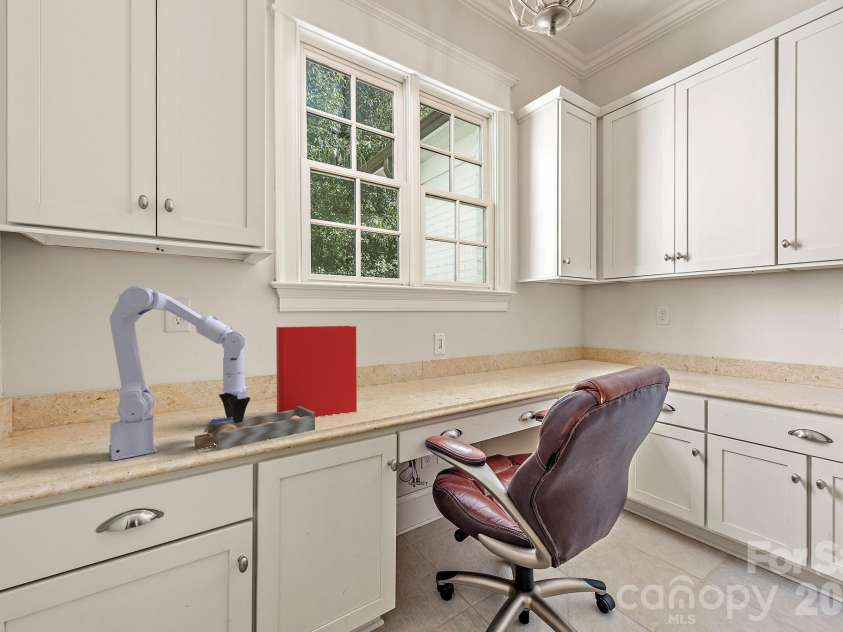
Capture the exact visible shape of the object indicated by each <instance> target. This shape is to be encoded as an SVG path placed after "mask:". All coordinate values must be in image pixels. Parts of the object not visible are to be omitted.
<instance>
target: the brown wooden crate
mask: <svg viewBox="0 0 843 632" xmlns="http://www.w3.org/2000/svg"><path fill="white" fill-rule="evenodd" d="M195 446H196V447H195ZM210 446H214V447H215V445H214V436H213V435H212V434H211V433H208V434H207V433H204V434H196V435H194V447H195V449H196V450H197V449H201V448H205V449H207V448H206V447H210ZM210 448H211V447H210ZM201 450H202V449H201Z"/></svg>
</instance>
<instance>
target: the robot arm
mask: <svg viewBox="0 0 843 632" xmlns="http://www.w3.org/2000/svg"><path fill="white" fill-rule="evenodd" d="M152 310H160V311H167V312H169V313H170V314H172V315H175V316H177V317H179V318H181V319H182V320H184V321H186V322H187V323H190V325H193V326H194V327H195V329H196V332H197V333H198V334H199V335H201V336H203V337H205V338H206V339H208V340H209V341H211V342H213V343H215V344H217V345H221V346H222V348H223V357H222V391H221V392H222V393H220V394H218V397H219V399H220V400H221V402H222V405H223V410H224V414H225V416H226V417H225V418H230V417H233V420H234V423H240V422H243V418H245V413H246V409H247V407H248V404H249V403H250V401H251V397H250V396H246V395H247V392H246V390H249V389H250V386H249V385H246V377H245V376H246V359H245V350H244V349H245V348H244V347H245V345H246V339H245V336H244V335H243V334H242V333H241V332H240V331H239V330H234V328H235V327H234V326H228V325H227V324H226V323H224V322H222V321H220V320H219V319H220V318H219V317H217V316H212V315H205V316H202V315H200V314H199V313H198V312H196V311H194V310H193V309H191V308H189V307H187V306H186V305H185V304H183V303H182V302H180V301H178V300H176V299H175V298H173V297H172V296H170V295H168V294H165V293H162V292H159V291H157V290H155V289H154V288H151V287H148V286H147V287H146V286H143V285H140V284H138V285H136V284H135V285H132V286H129V287H128V288H127V289H126V290H124V291H123V292H122V293H121V294H119V296H118V299H117V302H116V304H115V306H114V308H113V310H112V312H111V314H110V315H109V324H110V330H111V336H112V340H113V341H112V342H113V347H114V352H115V357H116V363H117V368H118V369H117V370H118V374H119V379H120V385H121V386H120V390H119V403H118V406H117V414H118V416H119V420H118V421H113V422H110V424H109V445H108V452H109V454H110V458H111V461H117V460H122V459H123V460H124V459H127V458H131V457H137V456H138V457H139V456H141V455H143V456H144V455H147V454H153V452H154V453H157V452H158V449H157V447H156V446H155V444H154V443H155V442H154V441H155V440H154V414H153V413H152V411H151V410H152V409H153V407H154V406H155V402H156V401H155V397H154V395H153V394H152V393H151V391H150V389H149V385H148V384H147V382H146V380H145V376H144V369H143V365H142V358H141V354H140V353H141V352H140V349H139V341H138V335H137V330H136V325H135V323H136V322H137V321H138V320H139V319H140V318H141V317H142V316H144V315H145V314H146V313H148V312H150V311H152Z"/></svg>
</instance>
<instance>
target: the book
mask: <svg viewBox="0 0 843 632" xmlns="http://www.w3.org/2000/svg"><path fill="white" fill-rule="evenodd" d="M275 330H276V335H275V337H276V339H275V340H276V341H275V342H276V343H275V344H276V348H275V349H276V351H275V352H276V354H275V355H276V413H278V412H284V411H290V410H296V409H297V406H301V407H303V408H306V409H308V410H310V411H313V412H315V418H317V417H318V418H320V417H326V416H325V415H328V416H334V415H333V414H336V415H341V414H340V413H345V414H350V413H349V412H353V413H358V409H357V407H358V406H357V403H358V402H357V399H358V398H357V395H358V394H357V387H358V386H357V382H358V381H357V326H356V325H354V326H353V325H352V326H351V325H323V326H322V325H320V326H319V325H317V326H311V325H310V326H278V327H277V326H276V329H275ZM319 416H320V417H319Z"/></svg>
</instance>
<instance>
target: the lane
mask: <svg viewBox="0 0 843 632" xmlns="http://www.w3.org/2000/svg"><path fill="white" fill-rule="evenodd" d="M292 416H299V417H300V418H295V419H290V418H291V417H292ZM289 419H290V420H289ZM206 429H207V432H206V434H208V433H211V434H212V435H213V436H214V443H215V444H216V445H217V447H216V449H217V451H221V450H226V449H230V448H235V447H240V446H244V445H249V444H253V443H258V442H263V440H264V441H268V440H267V439H269V440H273V439H272V438H274V439H277V438H276V437H278V438H281V436H283V437H287V436H286V435H288V436H290V435H289V434H292V435H295V434H294V433H297V434H300V433H299V432H302V433H305V432H304V431H307V432H311V431H315V430H316V417H315V412H313V411H310V410H308V409H306V408H303V407H301V406H297V409H296V410H290V411H284V412H278V413H277V412H274V413H267V414H261V415H255V416H251V417H250V416H249V417H244V418H243V422H240V423H234V420H231V421H225V422H219V423H213V424H210V423H209V424H207V427H206ZM310 430H311V431H310Z"/></svg>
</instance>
